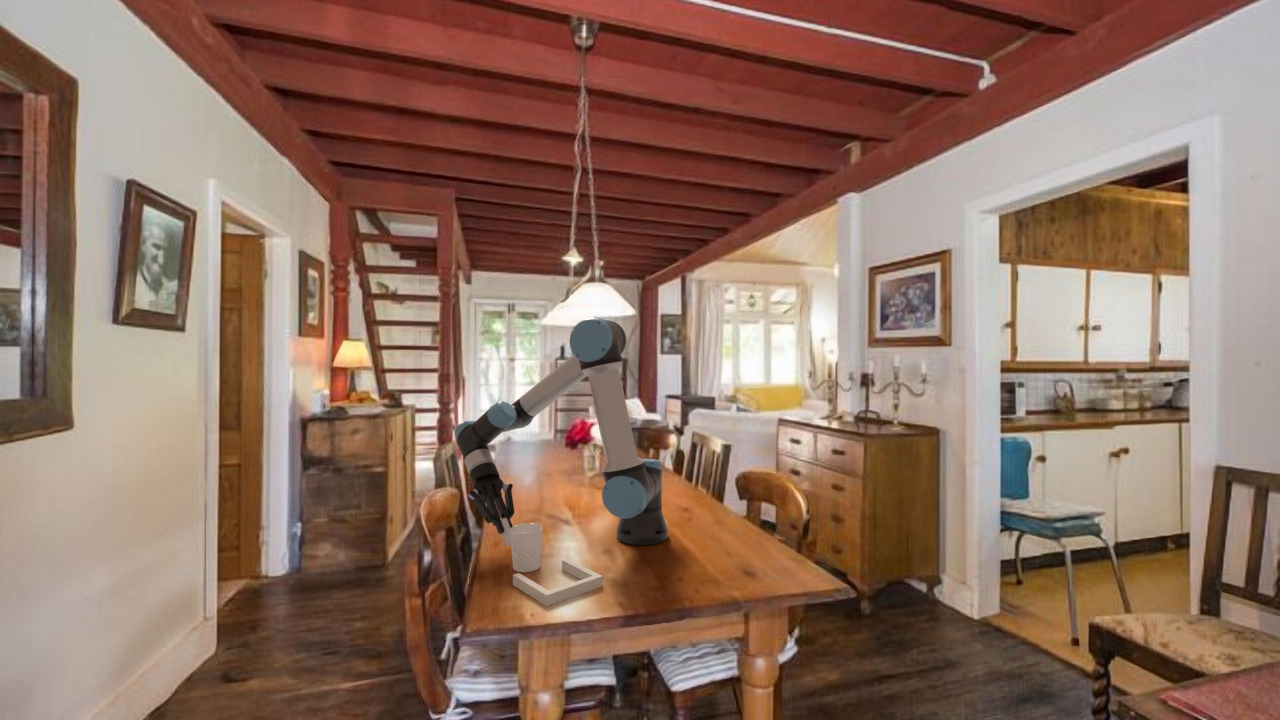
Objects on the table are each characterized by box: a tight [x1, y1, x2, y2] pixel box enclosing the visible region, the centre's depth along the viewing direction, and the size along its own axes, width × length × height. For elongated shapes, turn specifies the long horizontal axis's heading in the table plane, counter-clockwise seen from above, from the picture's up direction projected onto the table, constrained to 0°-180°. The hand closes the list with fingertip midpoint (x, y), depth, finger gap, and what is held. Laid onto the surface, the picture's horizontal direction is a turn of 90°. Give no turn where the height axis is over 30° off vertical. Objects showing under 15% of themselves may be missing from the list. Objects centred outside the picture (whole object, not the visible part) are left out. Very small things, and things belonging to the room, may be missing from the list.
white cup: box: [510, 522, 543, 573], centre depth 138 cm, size 8×8×10 cm
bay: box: [512, 558, 604, 607], centre depth 127 cm, size 15×15×2 cm
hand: (510, 542), depth 143 cm, fingers closed
